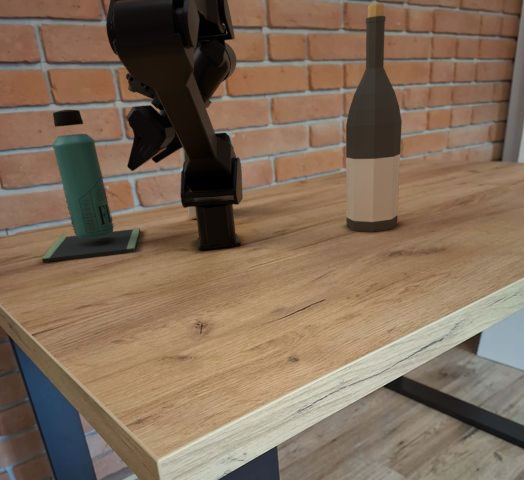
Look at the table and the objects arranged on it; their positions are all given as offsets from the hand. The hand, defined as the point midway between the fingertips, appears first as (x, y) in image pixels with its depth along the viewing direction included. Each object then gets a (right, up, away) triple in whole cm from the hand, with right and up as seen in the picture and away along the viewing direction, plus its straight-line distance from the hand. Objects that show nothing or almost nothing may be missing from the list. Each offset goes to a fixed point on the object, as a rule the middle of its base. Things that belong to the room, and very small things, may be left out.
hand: (142, 164), depth 84 cm
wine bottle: (+37, -11, -1) cm, 39 cm away
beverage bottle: (-8, -13, +1) cm, 15 cm away
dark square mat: (-8, -13, +1) cm, 16 cm away
